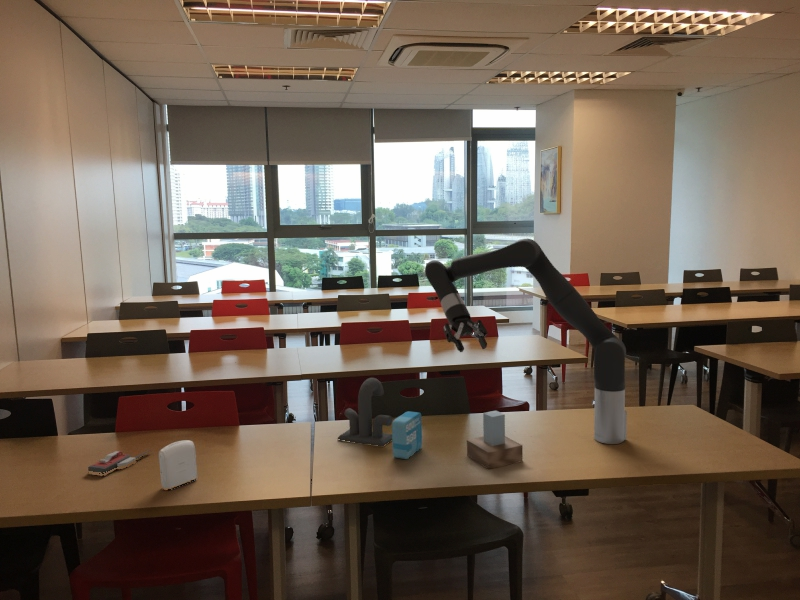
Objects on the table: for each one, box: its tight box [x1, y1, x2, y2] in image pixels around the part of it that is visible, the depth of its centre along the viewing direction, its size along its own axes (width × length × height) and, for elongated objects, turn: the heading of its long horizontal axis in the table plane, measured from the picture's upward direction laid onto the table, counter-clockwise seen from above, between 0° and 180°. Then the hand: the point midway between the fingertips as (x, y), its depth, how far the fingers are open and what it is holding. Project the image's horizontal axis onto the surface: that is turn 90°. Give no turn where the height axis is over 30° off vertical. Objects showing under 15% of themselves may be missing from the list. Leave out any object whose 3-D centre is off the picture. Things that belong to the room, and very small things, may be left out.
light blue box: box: [391, 411, 423, 460], centre depth 194 cm, size 12×4×12 cm, turn 153°
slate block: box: [482, 410, 506, 446], centre depth 187 cm, size 5×5×9 cm
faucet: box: [337, 377, 393, 447], centre depth 210 cm, size 18×16×20 cm
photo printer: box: [158, 439, 198, 488], centre depth 176 cm, size 10×4×12 cm, turn 140°
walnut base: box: [466, 435, 524, 470], centre depth 188 cm, size 12×12×5 cm
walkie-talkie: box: [87, 449, 152, 474], centre depth 192 cm, size 9×4×20 cm
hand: (473, 349), depth 200 cm, fingers open, 8 cm apart
